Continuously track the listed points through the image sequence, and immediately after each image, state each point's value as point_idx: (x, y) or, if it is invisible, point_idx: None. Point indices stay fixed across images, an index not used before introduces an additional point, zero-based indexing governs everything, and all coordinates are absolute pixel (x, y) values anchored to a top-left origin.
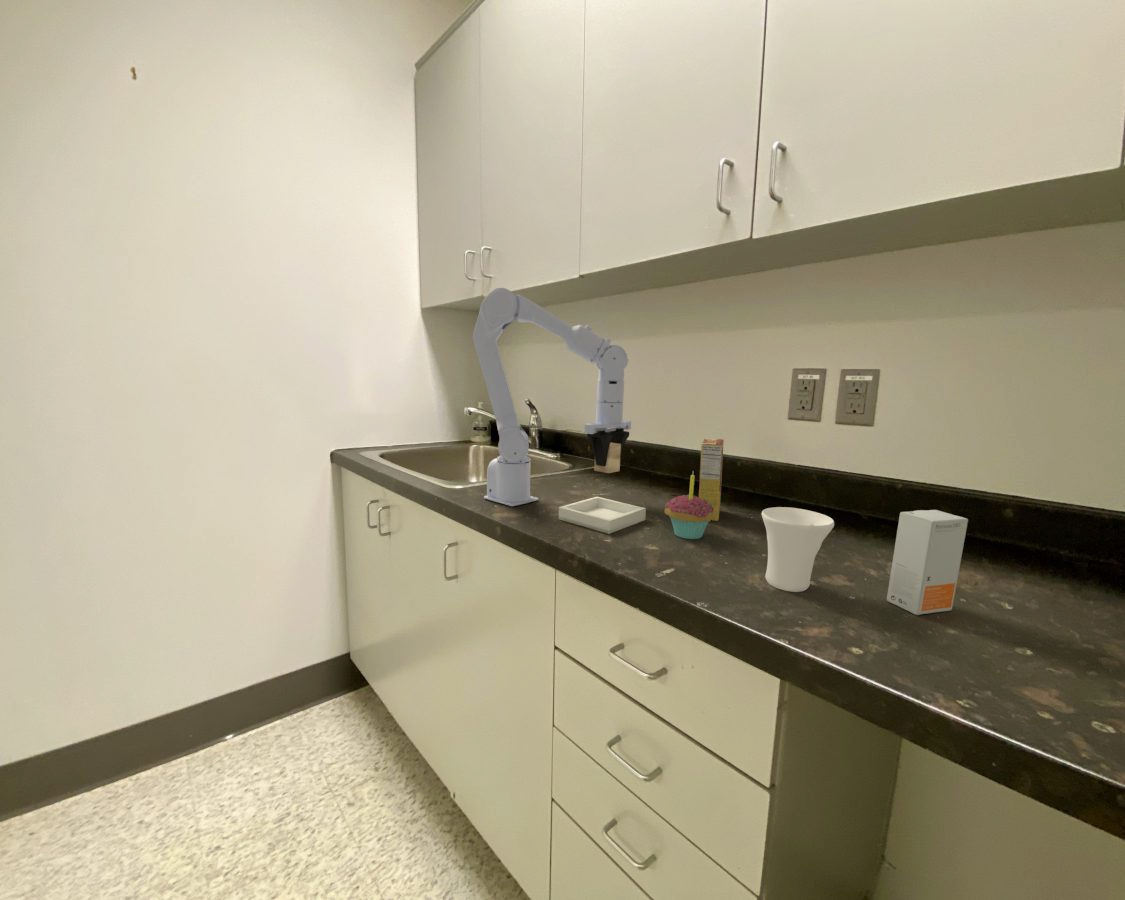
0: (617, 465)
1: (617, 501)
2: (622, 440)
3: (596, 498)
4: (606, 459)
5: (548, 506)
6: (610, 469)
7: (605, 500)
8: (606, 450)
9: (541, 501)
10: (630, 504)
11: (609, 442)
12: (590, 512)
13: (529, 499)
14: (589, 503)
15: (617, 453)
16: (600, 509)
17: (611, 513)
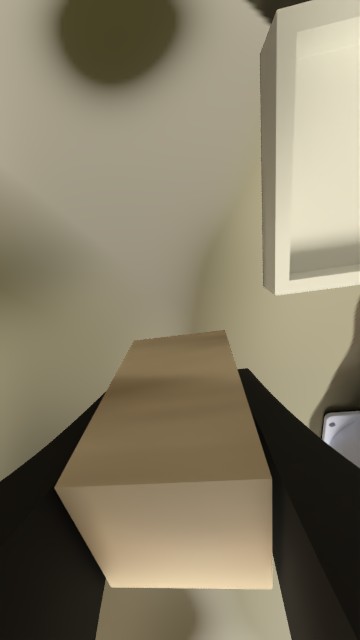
0: (148, 353)
1: (277, 195)
2: (3, 534)
3: (294, 279)
4: (246, 387)
5: (350, 366)
6: (213, 339)
7: (289, 243)
8: (293, 437)
9: (322, 405)
10: (277, 119)
11: (329, 526)
12: (358, 232)
13: (355, 420)
14: (329, 272)
15: (137, 404)
16: (302, 240)
17: (317, 179)
